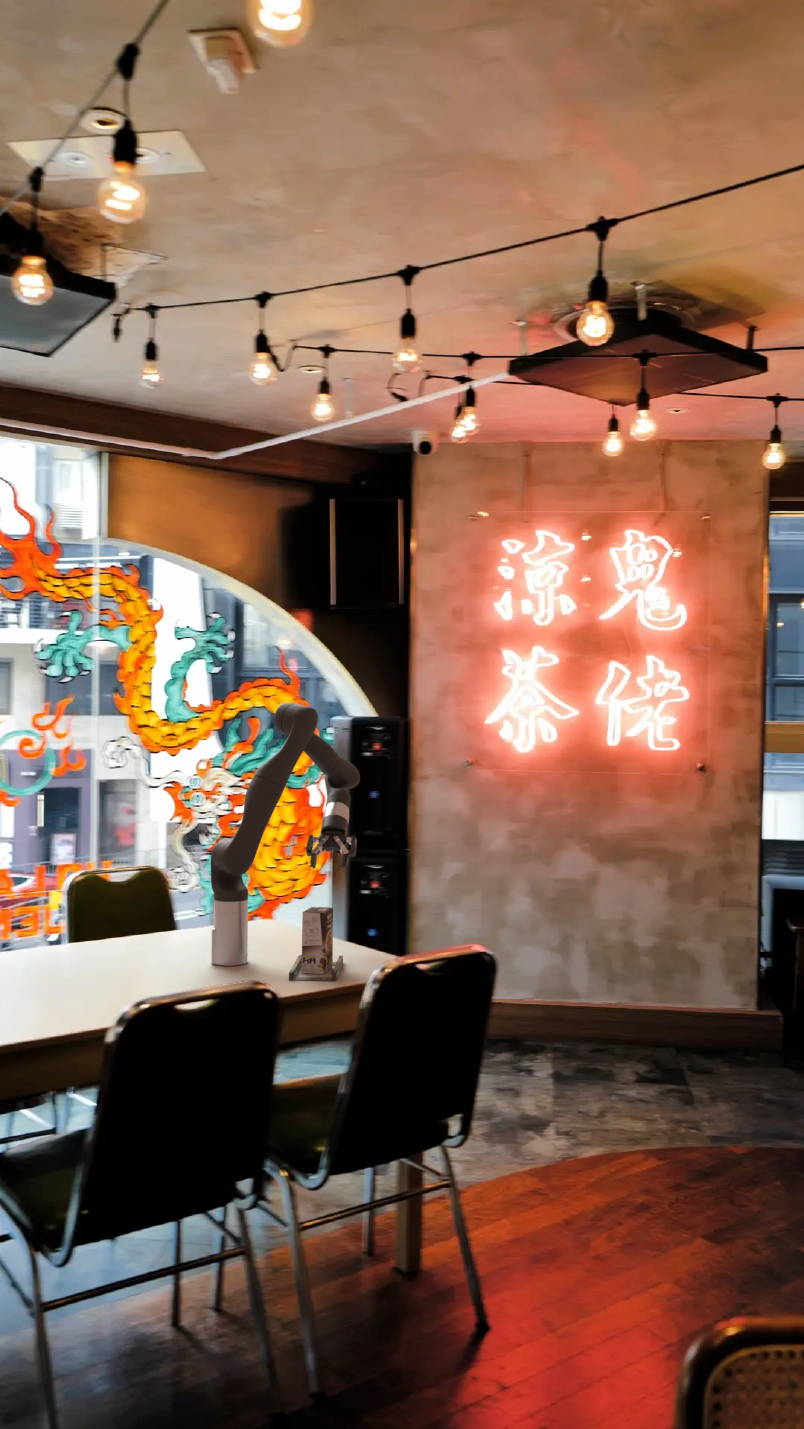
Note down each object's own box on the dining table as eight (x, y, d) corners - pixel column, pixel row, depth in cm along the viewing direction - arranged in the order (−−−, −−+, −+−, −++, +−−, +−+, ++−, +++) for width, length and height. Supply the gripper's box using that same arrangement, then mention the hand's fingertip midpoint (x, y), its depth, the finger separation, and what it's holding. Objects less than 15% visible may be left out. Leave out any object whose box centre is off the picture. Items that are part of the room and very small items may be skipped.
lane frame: (288, 980, 287) (288, 972, 287) (299, 962, 308) (299, 954, 308) (335, 981, 287) (335, 973, 287) (342, 962, 308) (342, 955, 308)
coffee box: (324, 974, 294) (325, 912, 294) (300, 973, 295) (301, 911, 295) (333, 967, 303) (334, 906, 303) (310, 965, 304) (311, 905, 304)
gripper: (309, 813, 328) (301, 858, 317) (357, 813, 326) (351, 859, 315) (313, 829, 334) (305, 874, 323) (361, 829, 332) (355, 875, 321)
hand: (328, 867), depth 319 cm, fingers open, 8 cm apart
